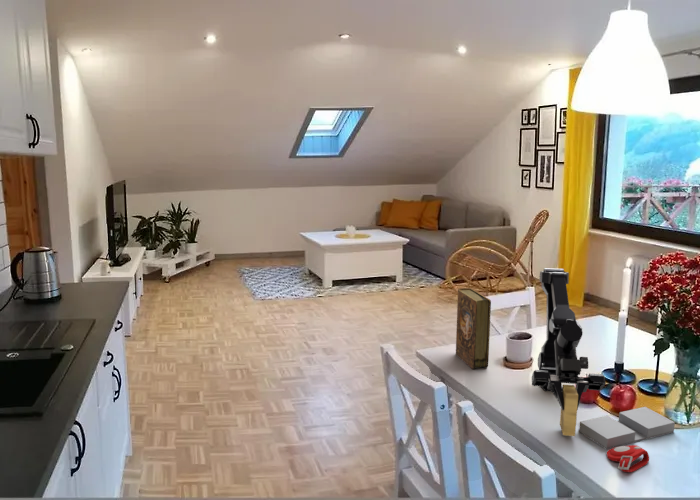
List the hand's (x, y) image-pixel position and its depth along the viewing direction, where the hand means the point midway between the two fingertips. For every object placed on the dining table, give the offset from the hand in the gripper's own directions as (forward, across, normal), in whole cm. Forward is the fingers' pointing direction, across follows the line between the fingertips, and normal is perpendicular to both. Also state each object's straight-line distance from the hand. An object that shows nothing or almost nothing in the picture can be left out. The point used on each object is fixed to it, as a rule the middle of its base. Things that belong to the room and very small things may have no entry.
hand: (569, 410), depth 159 cm
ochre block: (+4, 0, +6) cm, 7 cm away
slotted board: (+2, +16, +10) cm, 19 cm away
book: (-29, -25, +41) cm, 57 cm away
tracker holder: (+13, +12, -2) cm, 18 cm away
